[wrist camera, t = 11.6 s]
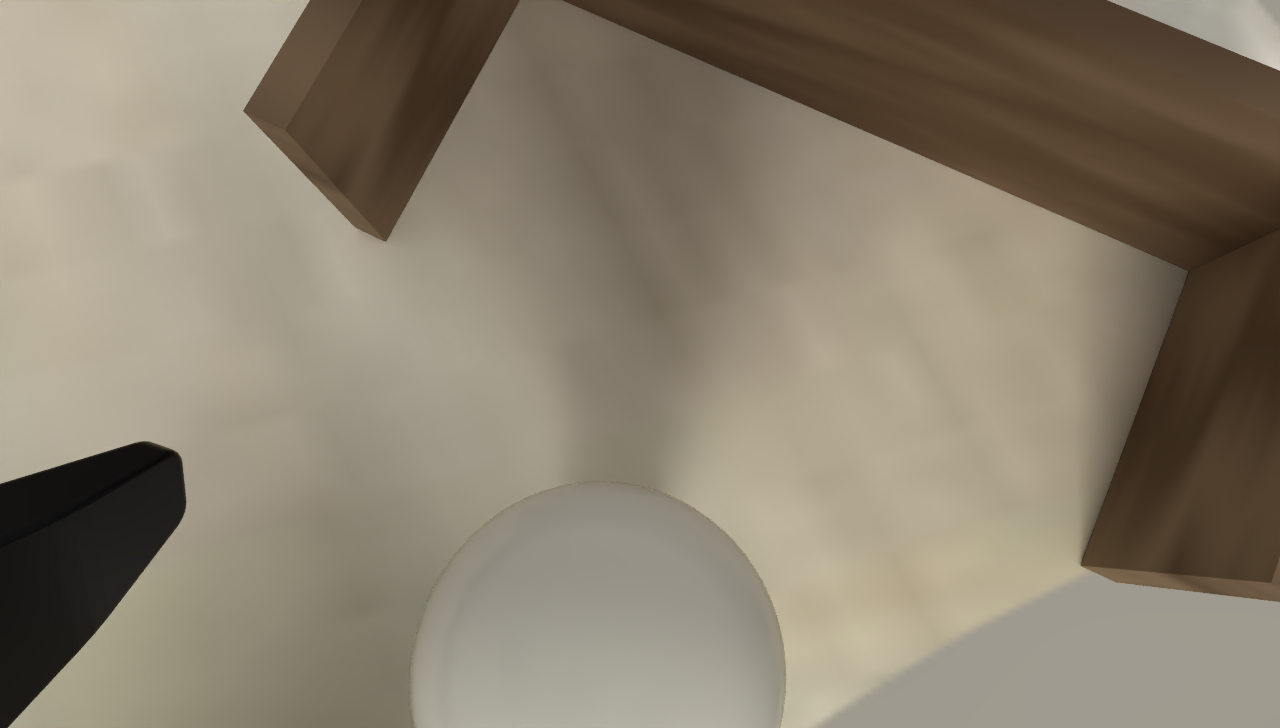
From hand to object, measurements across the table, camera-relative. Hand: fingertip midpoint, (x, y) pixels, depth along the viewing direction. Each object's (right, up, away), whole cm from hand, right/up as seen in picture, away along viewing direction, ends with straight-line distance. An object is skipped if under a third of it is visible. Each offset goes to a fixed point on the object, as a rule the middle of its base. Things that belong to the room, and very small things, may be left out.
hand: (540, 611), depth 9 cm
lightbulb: (0, -4, +13) cm, 14 cm away
